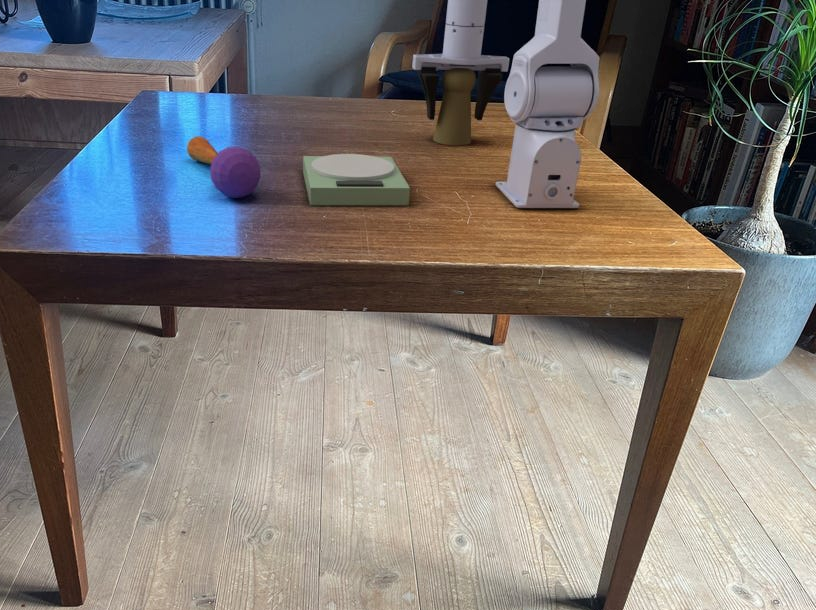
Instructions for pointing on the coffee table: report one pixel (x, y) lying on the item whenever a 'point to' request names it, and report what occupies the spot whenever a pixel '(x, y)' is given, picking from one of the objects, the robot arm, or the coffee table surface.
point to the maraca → (227, 167)
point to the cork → (455, 107)
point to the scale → (354, 180)
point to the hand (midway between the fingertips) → (454, 118)
